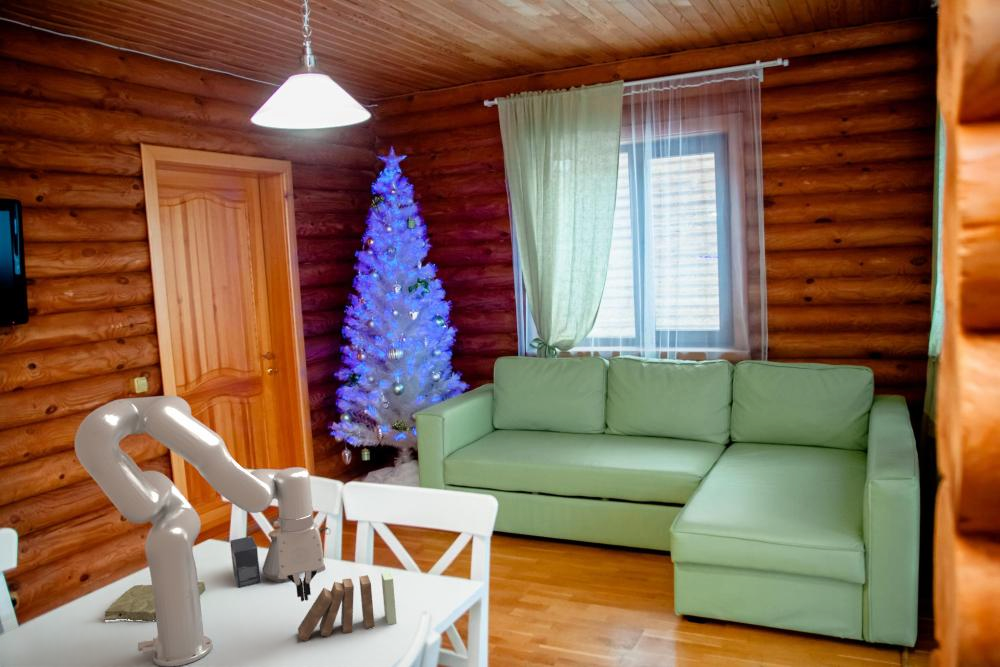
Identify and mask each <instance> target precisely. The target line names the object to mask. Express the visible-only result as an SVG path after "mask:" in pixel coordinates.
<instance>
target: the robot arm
mask: <svg viewBox="0 0 1000 667" xmlns="http://www.w3.org/2000/svg"><path fill="white" fill-rule="evenodd" d="M139 434H140V435H141V434H148V435H149V436H151V437H152V438H153V439H155V440H156V441H158V442H159V443H160V444H162V445H163V446H164V447H166V448H167V449H169V450H170V451H172V452H173V453H175V454H176V455H178V456H179V457H180V458H182V459H183V460H184V461H186V462H187V463H189V464H190V465H191V466H192V467H194V468H195V469H196V470H197V471H198V473H199V474H200V475H201V477H203V479H205V480H206V482H207V483H208V484H209V485H210V487H212V488H213V489H214V491H216V492H217V493H218V495H219V494H220V495H221V496H222V497H224V499H226V500H227V501H228V502H230V503H231V504H233V505H234V506H236V507H237V508H239V509H241V510H242V511H245V512H248V513H252V514H257V513H258V514H259V513H261V512H264V511H265V510H267V509H268V507H270V506H271V504H272V502H273V500H274V499H276V500H277V505H278V515H279V517H278V518H277V519H276V520H273V521H272V522H273V527H278V529H279V530H278V533H277V560H278V569H279V570H278V578H280V579H289V581H291V582H292V583H294V585H295V587H296V596H297V598H300V602H304V601H309V596H311V585H310V584H311V581H312V579H314V578H315V576H316V574H319V573H323V572H324V571H325V570H326V566H325V561H324V551H323V550H324V549H323V542H322V538H321V533H320V532H319V529H320V528H319V525H317V523H315V520H314V510H313V509H314V508H313V500H312V498H313V497H312V487H311V479H310V478H311V476H310V472H309V470H308V469H307V468H304V467H302V466H301V467H300V466H299V467H298V466H296V467H295V466H293V467H287V468H284V469H271V468H259V469H255V470H253V471H251V472H249V471H248V470H246V469H245V468H244V467H243V466H241V465H240V464H239V463H238V462H237V461H236V460H235V459H234V458H233V457H232V455H231V454H230V452H229V450H228V447H227V446H226V444H225V441H224V440H223V438H222V437H221V436H220V435H219V434H217V432H216V431H214V430H212V429H211V428H209V427H208V426H207V425H206V424H204V423H203V422H201V421H200V420H198V419H197V418H195V417H194V416H193V415H192V408H191V407H190V405H189V403H188V402H187V401H186V400H185V399H184V398H182V397H180V396H177V395H158V396H146V397H130V398H120V399H115V400H113V401H110V402H107V403H106V404H104V405H101V406H99V407H97V408H95V409H94V410H93V411H91V412H90V413H88V414H87V416H86V417H85V418H84V419H83V420H82V422H81V423H80V425H79V427H78V428H77V431H76V433H75V437H74V451H75V454H76V457H77V459H78V461H79V463H80V464H81V466H82V468H84V470H85V471H86V472H87V474H88V475H90V476H91V478H92V479H93V480H94V481H95V483H96V484H97V485H98V487H100V489H101V491H102V492H103V493H104V494H105V496H106V497H107V498H108V499H109V500H110V502H111V503H112V504H113V505H114V506H115V508H116V509H117V511H119V512H120V514H121V515H122V517H124V518H125V519H126V520H127V521H128V522H131V523H133V524H144V523H148V522H149V523H151V524H152V527H151V528H150V529H149V532H148V533H147V535H146V539H145V543H144V546H145V547H144V552H145V556H146V560H147V564H148V568H149V573H150V578H151V579H150V580H151V585H152V589H153V596H154V604H155V613H156V621H155V622H156V630H157V636H156V637H154V638H152V639H151V640H145V641H140V642H137V650H138V652H142V655H146V654H150V653H152V660H153V663H154V664H155V665H158V666H161V667H178V666H182V665H183V666H184V665H187V664H190V663H191V664H192V663H193V662H196V661H198V660H200V659H201V658H203V657H205V656H206V655H208V654H209V652H211V650H212V648H213V641H212V640H211V638H210V637H208V636H206V635H205V634H204V628H203V627H204V625H203V617H202V607H201V596H199V586H198V582H199V578H198V569H197V565H196V562H195V557H194V551H193V550H194V549H193V545H194V543H195V541H196V540H197V538H198V537H199V534H200V531H201V529H202V528H201V526H202V523H201V518H200V516H199V514H198V513H197V511H196V509H194V507H193V506H192V504H191V503H190V502H189V501H188V499H187V498H186V497H185V496H184V494H183V493H182V492H181V490H179V488H178V487H177V486H176V484H175V483H174V482H173V481H172V480H171V479H170V478H169V477H168V476H166V475H165V474H164V473H162V472H159V471H157V470H145V471H142V469H141V468H140V467H139V466H138V465H137V463H136V462H135V461H134V459H133V458H132V457H131V456H130V455H129V454H127V453H126V452H125V451H124V450H123V449H121V447H120V445H119V444H120V442H121V441H122V440H124V439H125V438H126V437H128V436H131V435H139ZM299 573H300V574H303V573H304V578H303V580H302V578H301V577H300V574H299Z"/></svg>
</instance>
